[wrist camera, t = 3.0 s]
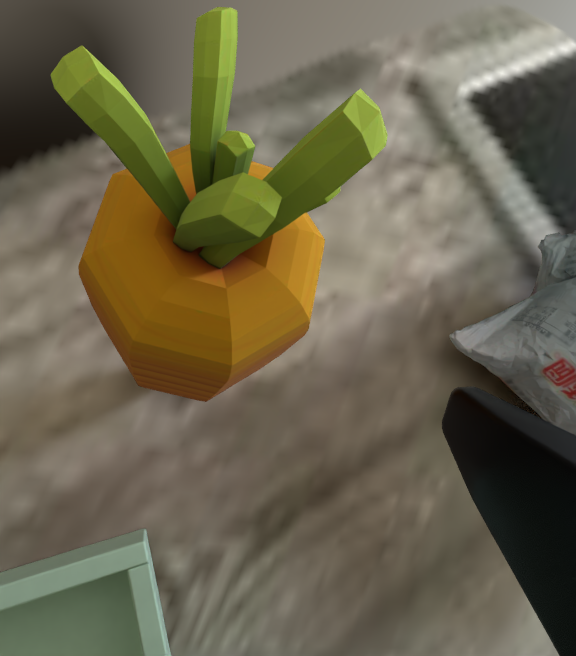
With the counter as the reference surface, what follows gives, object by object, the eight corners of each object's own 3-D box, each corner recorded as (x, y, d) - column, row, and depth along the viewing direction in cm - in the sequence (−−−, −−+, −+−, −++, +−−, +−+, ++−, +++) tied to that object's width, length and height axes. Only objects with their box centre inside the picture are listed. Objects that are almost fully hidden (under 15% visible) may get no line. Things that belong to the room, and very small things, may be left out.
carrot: (83, 378, 19) (-111, 76, 5) (168, 280, 20) (208, -144, 7) (193, 457, 19) (320, 389, 5) (268, 353, 21) (510, 91, 7)
